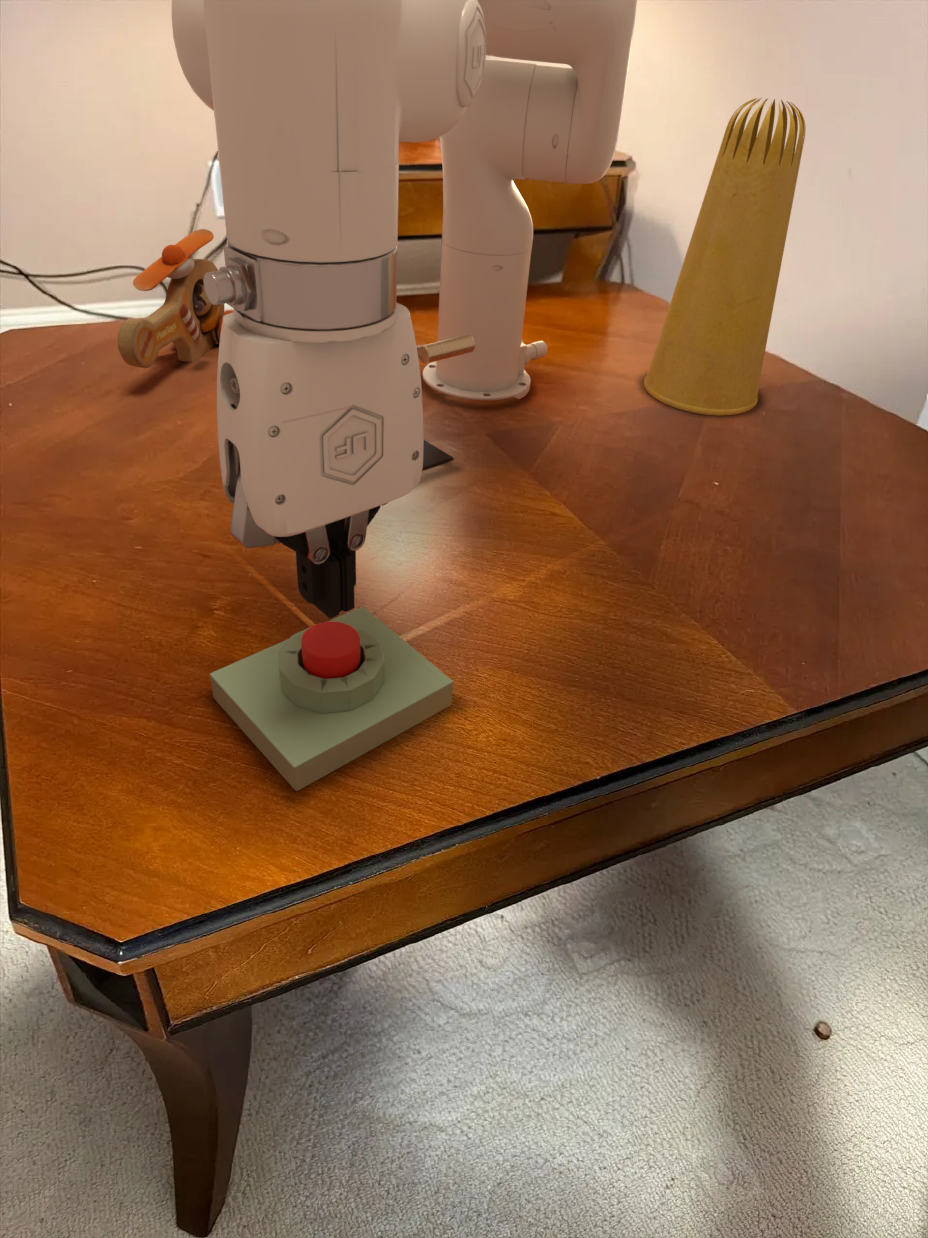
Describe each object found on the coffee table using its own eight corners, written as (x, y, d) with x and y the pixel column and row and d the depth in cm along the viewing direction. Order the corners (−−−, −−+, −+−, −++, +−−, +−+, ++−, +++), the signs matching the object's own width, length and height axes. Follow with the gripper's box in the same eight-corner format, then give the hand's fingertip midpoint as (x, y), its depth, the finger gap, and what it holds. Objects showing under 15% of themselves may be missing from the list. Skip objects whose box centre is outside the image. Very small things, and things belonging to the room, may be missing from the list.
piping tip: (738, 371, 107) (814, 96, 88) (772, 418, 96) (868, 115, 77) (634, 365, 106) (689, 86, 87) (656, 412, 95) (725, 104, 76)
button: (339, 635, 55) (338, 614, 54) (371, 664, 53) (371, 642, 52) (291, 656, 53) (289, 635, 52) (323, 687, 51) (322, 666, 50)
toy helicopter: (255, 343, 103) (244, 224, 95) (174, 411, 87) (153, 274, 79) (193, 334, 104) (176, 215, 96) (102, 400, 88) (73, 263, 80)
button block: (363, 629, 61) (362, 585, 59) (451, 705, 56) (455, 660, 53) (213, 698, 55) (205, 651, 52) (296, 792, 49) (292, 745, 46)
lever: (477, 357, 70) (472, 327, 69) (431, 369, 67) (425, 338, 66) (395, 365, 79) (389, 339, 78) (351, 376, 76) (345, 349, 75)
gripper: (204, 337, 32) (247, 688, 43) (489, 282, 41) (463, 589, 52) (122, 285, 37) (180, 617, 48) (394, 245, 45) (390, 536, 56)
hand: (328, 602), depth 50 cm, fingers closed
